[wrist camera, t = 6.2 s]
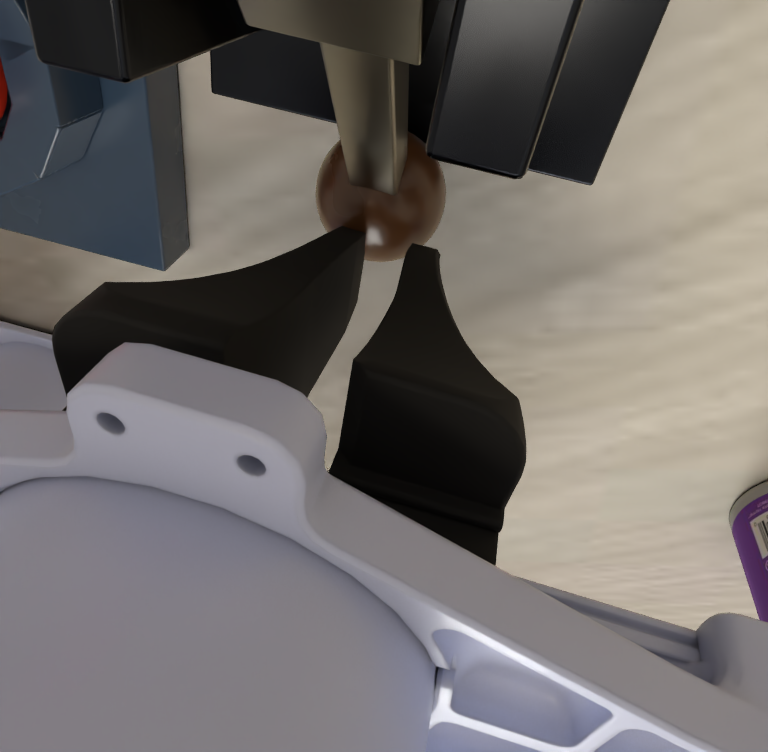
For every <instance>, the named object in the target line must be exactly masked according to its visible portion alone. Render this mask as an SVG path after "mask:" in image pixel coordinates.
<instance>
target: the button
mask: <svg viewBox="0 0 768 752" xmlns="http://www.w3.org/2000/svg"><path fill="white" fill-rule="evenodd" d="M7 95H8V90H7V83H6V79H5V75H4V71H3V67H2V63H1V59H0V120H1V118H2V116H3V114H4V112H5V109H6V104H7Z"/></svg>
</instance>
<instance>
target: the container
mask: <svg viewBox="0 0 768 752" xmlns="http://www.w3.org/2000/svg"><path fill="white" fill-rule="evenodd" d="M729 522H730V526H731V530H732V533H733V537H734V540H735V543H736V546H737V550H738V553H739V556H740V559H741V562H742V565H743V569H744V572H745V575H746V578H747V581H748V584H749V587H750V591H751V594H752V597H753V600H754V603H755V606H756V610H757V613H758V616H759V619H760V620H761V621H764V622H768V481H766V482H764V483H762V484H760V485H758V486H756V487H754V488H752V489H750V490H749V491H747V492H746V493H745V494H743V495H742V496H741V497H740V498H739V499H738V500H737V501H736V503H735V504H734V505H733V507H732V509H731V511H730V516H729Z"/></svg>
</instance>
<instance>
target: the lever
mask: <svg viewBox="0 0 768 752" xmlns="http://www.w3.org/2000/svg"><path fill="white" fill-rule="evenodd" d="M236 1H237V3H238V6H239V8H240V11H241V13H242V16H243V19H244V21H245V23H246V24H247V25H249V26H253V27H257V28H261V29H266V30H270V31H274V32H278V33H283V34H287V35H291V36H295V37H299V38H304V39H308V40H312V41H316V42H320V47H321V51H322V56H323V61H324V65H325V70H326V75H327V79H328V84H329V89H330V93H331V98H332V103H333V107H334V112H335V117H336V121H337V126H338V131H339V135H340V140H339V141H338V142H337V143H336V144H335V145H334V146H333V148H332V149H331V150H330V151H329V153H328V154H327V156H326V157H325V159H324V161H323V163H322V165H321V168H320V170H319V173H318V178H317V183H316V204H317V209H318V213H319V216H320V219H321V222H322V224H323V226H324V228H325V230H326V231H327V233H328V232H330V231H332V230H334V229H336V228H338V227H340V226H344V227H347V228H350V229H353V230H357V231H360V232H364V233H366V237H365V255H364V260H368V261H375V262H386V261H394V260H397V259H401V258H404V257H405V255H406V252H407V250H408V248H409V247H410V246H411V244H412V243H414V244H418V245H422V246H423V245H424V244H425V243H426V242H427V241H428V240H429V239H430V238H431V236H432V235H433V233H434V232H435V231H436V229H437V227H438V225H439V223H440V220H441V218H442V215H443V212H444V207H445V199H446V187H445V180H444V176H443V172H442V169H441V167H440V164H439V162H438V160H434V159H432V158H430V157H429V156H427V154H426V149H425V146H426V144H425V143H424V142H423V141H422V140H421V139H419V138H418V137H417V136H415V135H414V134H412V133H410V132H408V90H409V64H413V65H420V64H421V63H422V61H423V58H424V54H425V51H426V47H427V43H428V40H429V36H430V33H431V29H432V26H433V22H434V18H435V15H436V11H437V8H438V4H439V1H440V0H236Z"/></svg>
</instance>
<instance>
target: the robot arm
mask: <svg viewBox="0 0 768 752" xmlns="http://www.w3.org/2000/svg"><path fill="white" fill-rule="evenodd" d="M365 237H366V233H364V232H360V231H357V230H353V229H350V228H347V227H344V226H340V227H338V228H336V229H334V230H332V231H330V232H328V233H326V234H325V235H323V236H321V237H319V238H317V239H315V240H313V241H311V242H309V243H307V244H305V245H303V246H301V247H299V248H296V249H294V250H292V251H289V252H287V253H284V254H282V255H280V256H277V257H275V258H273V259H270V260H267V261H265V262H262V263H259V264H256V265H253V266H249V267H246V268H242V269H239V270H235V271H231V272H226V273H221V274H215V275H210V276H205V277H200V278H193V279H184V280H175V281H162V282H105V283H103V284H102V285H101V286H99V287H98V288H97V289H96V290H94V291H93V292H92V293H91V294H90V295H88V296H87V297H86V298H85V299H84V300H82V301H81V302H80V303H79V304H77V305H76V306H75V307H74V308H73V309H71V310H70V311H69V312H68V313H67V314H65V315H64V316H63V317H62V318H61V319H60V320H59V322H58V323H57V324H56V325H55V327H54V331H53V335H50V334H47V333H43V332H39V331H36V330H32V329H28V328H25V327H21V326H17V325H14V324H10V323H6V322H3V321H0V752H768V622H764V621H761V620H758V619H754V618H751V617H748V616H744V615H741V614H735V613H719V614H716V615H714V616H712V617H710V618H708V619H707V620H706V621H705V622H704V623H702V624H701V626H700V627H699V628H698V629H697V631H694V630H691V629H688V628H685V627H681V626H678V625H675V624H671V623H668V622H665V621H661V620H658V619H655V618H652V617H648V616H645V615H642V614H638V613H635V612H632V611H628V610H625V609H622V608H619V607H615V606H612V605H609V604H605V603H602V602H599V601H595V600H592V599H589V598H586V597H582V596H579V595H576V594H572V593H569V592H566V591H562V590H559V589H556V588H553V587H549V586H546V585H543V584H539V583H536V582H533V581H529V580H526V579H523V578H520V577H516V576H513V575H511V574H509V573H507V572H505V571H504V570H502V569H500V568H498V567H496V566H495V565H496V554H497V543H498V532H500V531H501V529H502V526H503V520H504V509H505V506H506V504H507V503H508V501H509V499H510V497H511V495H512V493H513V491H514V489H515V487H516V485H517V483H518V481H519V480H520V478H521V476H522V473H523V470H524V466H525V463H526V438H525V429H524V423H523V417H522V412H521V407H520V403H519V399H518V398H517V397H516V396H515V395H514V394H513V393H511V392H510V391H509V390H508V389H507V388H506V387H504V386H503V385H502V384H501V383H500V382H499V381H497V380H496V379H495V378H494V377H493V376H492V375H491V374H490V373H489V372H488V370H487V369H486V368H485V367H484V366H483V365H482V364H481V363H480V362H479V360H478V359H477V358H476V357H475V355H474V354H473V352H472V351H471V350H470V348H469V347H468V346H467V344H466V342H465V341H464V339H463V337H462V335H461V333H460V332H459V330H458V328H457V326H456V323H455V321H454V319H453V316H452V314H451V311H450V309H449V306H448V303H447V300H446V296H445V293H444V289H443V285H442V280H441V274H440V263H439V261H440V253H439V252H438V250H437V249H433V248H429V247H426V246H422V245H418V244H414V243H412V244H411V246H410V247H409V248H408V250H407V252H406V255H405V259H404V263H403V267H402V271H401V275H400V279H399V283H398V287H397V291H396V294H395V297H394V299H393V301H392V303H391V305H390V307H389V309H388V311H387V313H386V315H385V316H384V318H383V320H382V321H381V323H380V325H379V327H378V328H377V330H376V332H375V333H374V334H373V336H372V337H371V339H370V340H369V342H368V343H367V345H366V346H365V347H364V348H363V349H362V350H361V352H360V353H359V354H358V355H357V356H356V357H355V358H354V359H353V363H352V370H351V376H350V382H349V388H348V394H347V400H346V406H345V412H344V418H343V424H342V430H341V436H340V442H339V448H338V451H337V453H336V455H335V458H334V460H333V463H332V465H331V468H330V470H329V473H328V472H327V471H326V469H325V465H324V455H325V447H326V440H327V434H326V430H325V425H324V421H323V416H322V414H321V413H320V412H319V411H318V410H317V408H316V407H315V406H314V405H313V404H312V403H311V402H310V401H309V400H308V398H307V397H308V395H309V393H310V391H311V390H312V388H313V386H314V385H315V383H316V381H317V379H318V378H319V376H320V374H321V373H322V371H323V369H324V368H325V366H326V364H327V362H328V361H329V359H330V357H331V356H332V354H333V352H334V350H335V349H336V347H337V345H338V343H339V342H340V340H341V338H342V336H343V335H344V333H345V331H346V328H347V326H348V324H349V321H350V319H351V316H352V314H353V311H354V309H355V306H356V304H357V300H358V294H359V287H360V281H361V274H362V268H363V262H364V255H365Z"/></svg>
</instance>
